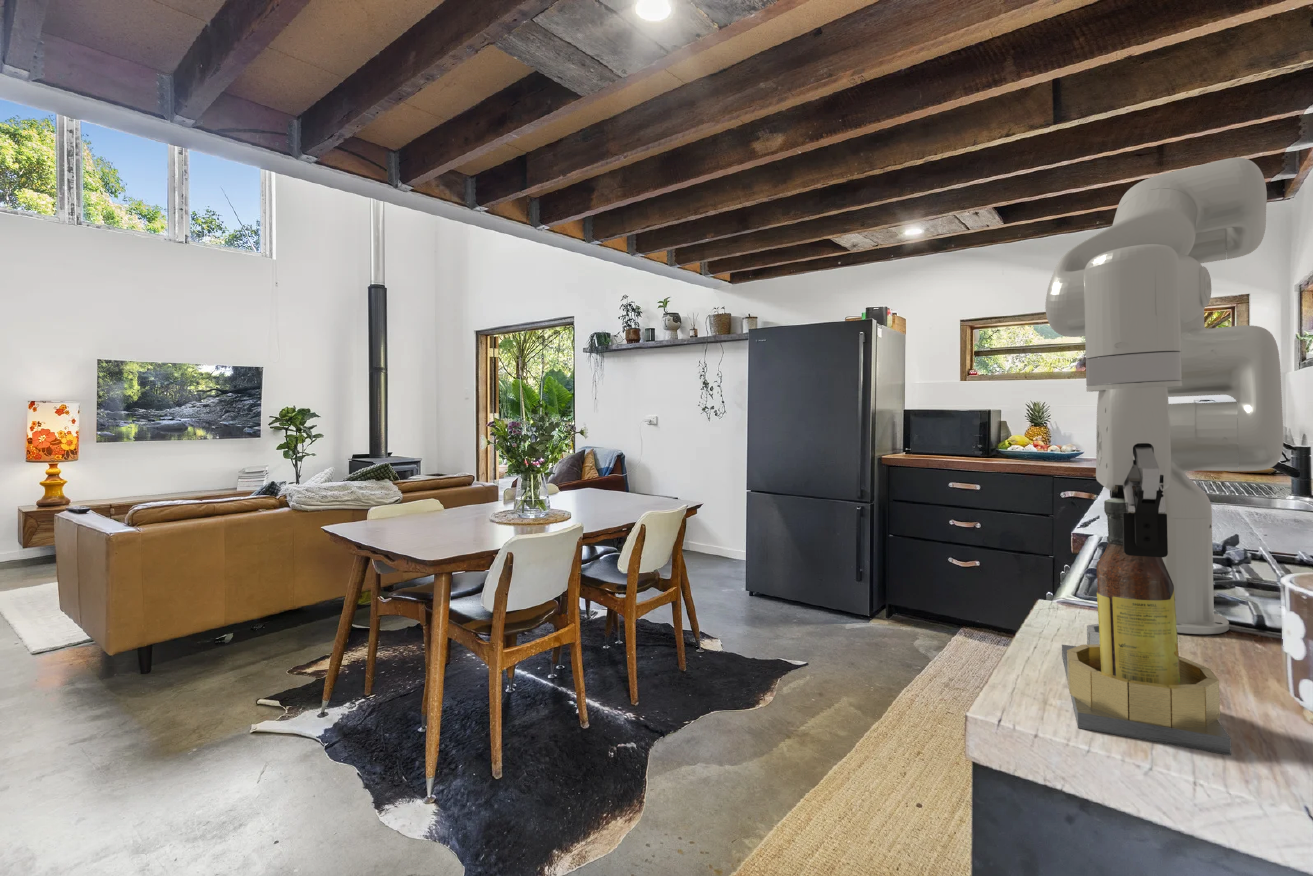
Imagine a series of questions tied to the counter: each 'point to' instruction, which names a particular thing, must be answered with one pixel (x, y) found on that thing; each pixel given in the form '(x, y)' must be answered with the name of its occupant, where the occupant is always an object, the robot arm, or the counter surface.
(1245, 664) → the counter surface
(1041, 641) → the counter surface
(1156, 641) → the sauce bottle
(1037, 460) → the counter surface
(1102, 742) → the counter surface
